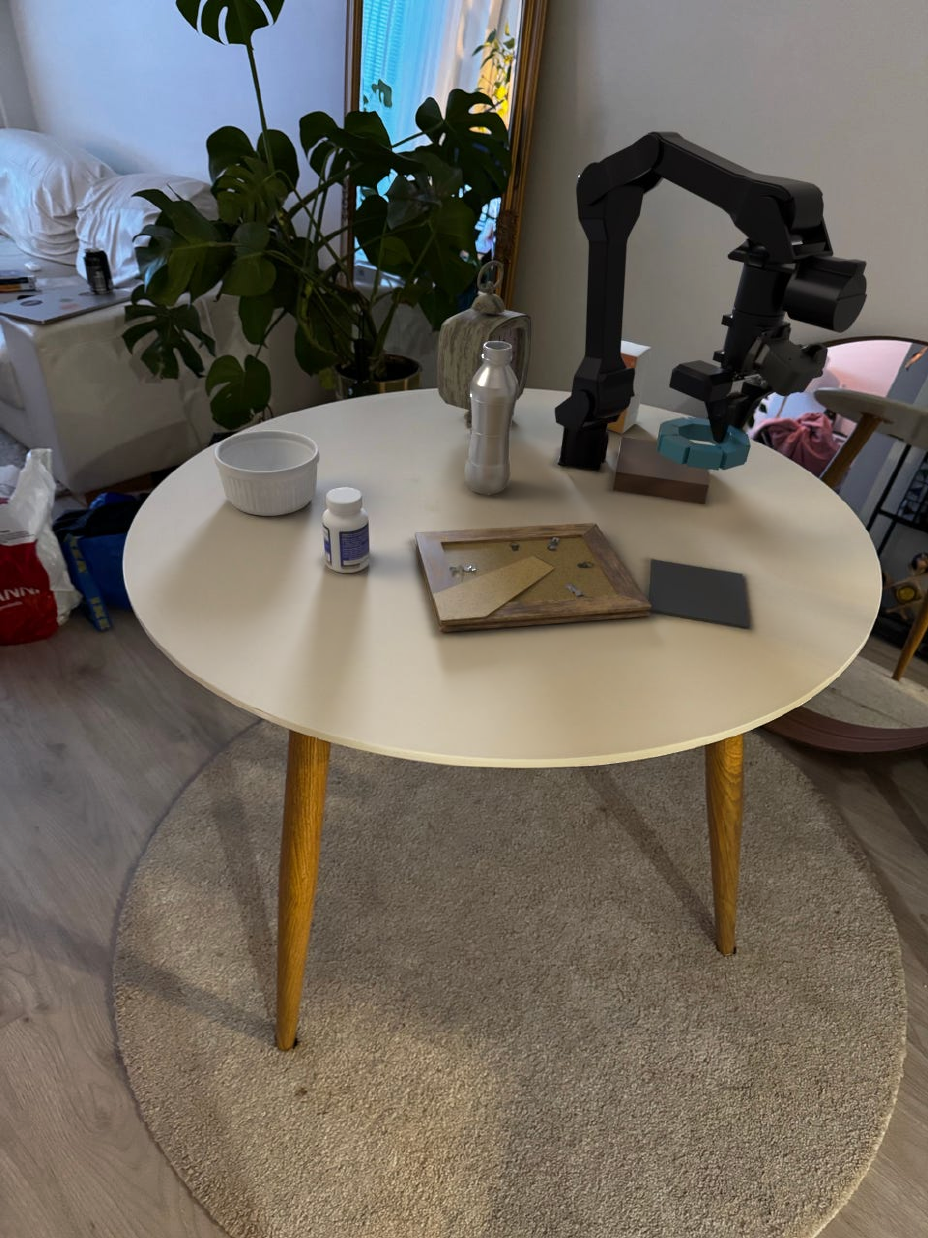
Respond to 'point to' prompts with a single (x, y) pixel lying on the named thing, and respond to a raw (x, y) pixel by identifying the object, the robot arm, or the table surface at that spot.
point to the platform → (657, 473)
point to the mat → (698, 593)
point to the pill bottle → (345, 531)
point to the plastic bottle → (491, 420)
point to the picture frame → (525, 577)
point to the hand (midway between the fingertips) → (724, 440)
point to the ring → (697, 455)
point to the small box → (638, 360)
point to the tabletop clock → (480, 344)
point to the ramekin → (268, 471)
